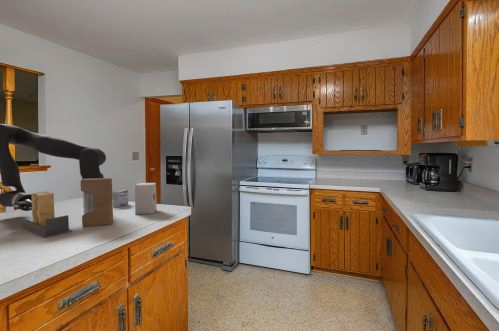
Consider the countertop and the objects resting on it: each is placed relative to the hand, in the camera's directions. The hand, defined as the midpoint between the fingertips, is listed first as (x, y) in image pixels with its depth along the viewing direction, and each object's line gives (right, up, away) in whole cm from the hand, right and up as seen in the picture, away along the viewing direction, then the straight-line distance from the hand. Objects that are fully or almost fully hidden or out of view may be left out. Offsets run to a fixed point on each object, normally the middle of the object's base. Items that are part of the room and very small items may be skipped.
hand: (39, 205), depth 114 cm
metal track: (+5, -9, -3) cm, 11 cm away
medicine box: (+14, -7, +44) cm, 46 cm away
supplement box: (+35, -8, +27) cm, 45 cm away
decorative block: (+22, -9, +5) cm, 24 cm away
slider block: (+3, -8, -2) cm, 9 cm away
